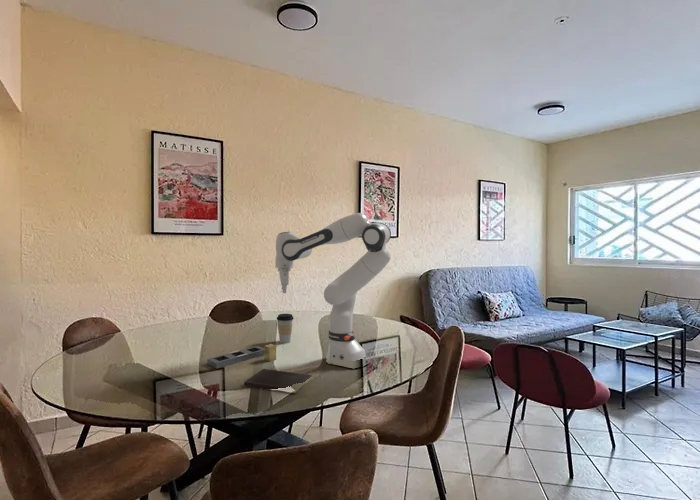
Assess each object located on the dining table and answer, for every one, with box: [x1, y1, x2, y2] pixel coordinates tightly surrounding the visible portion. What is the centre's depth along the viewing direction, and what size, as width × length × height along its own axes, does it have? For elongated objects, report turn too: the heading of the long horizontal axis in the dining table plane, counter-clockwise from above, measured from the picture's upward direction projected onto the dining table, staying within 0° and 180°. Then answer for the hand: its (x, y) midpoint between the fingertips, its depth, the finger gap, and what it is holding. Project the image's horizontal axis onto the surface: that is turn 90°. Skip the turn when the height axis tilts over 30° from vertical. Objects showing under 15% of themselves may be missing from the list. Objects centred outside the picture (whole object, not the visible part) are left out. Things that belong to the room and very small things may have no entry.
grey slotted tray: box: [206, 345, 264, 369], centre depth 195 cm, size 8×28×3 cm, turn 139°
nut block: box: [263, 343, 277, 363], centre depth 194 cm, size 4×4×7 cm
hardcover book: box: [243, 368, 313, 390], centre depth 167 cm, size 16×23×2 cm
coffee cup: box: [276, 313, 295, 344], centre depth 224 cm, size 9×9×15 cm
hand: (283, 291), depth 203 cm, fingers open, 8 cm apart
